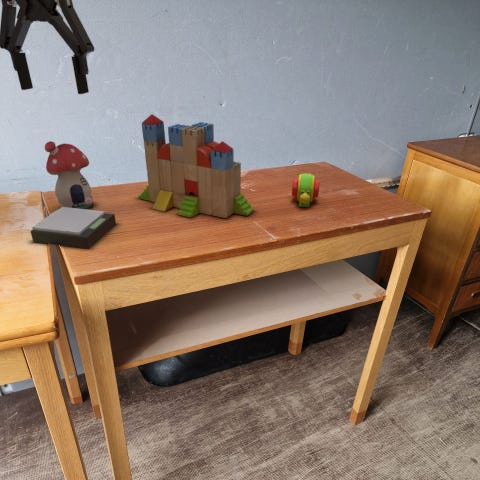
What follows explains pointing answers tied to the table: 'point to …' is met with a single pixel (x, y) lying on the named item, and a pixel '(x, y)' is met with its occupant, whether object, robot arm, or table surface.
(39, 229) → the kitchen scale
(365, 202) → the table surface
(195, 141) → the block set
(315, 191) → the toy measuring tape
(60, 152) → the decorative ornament
